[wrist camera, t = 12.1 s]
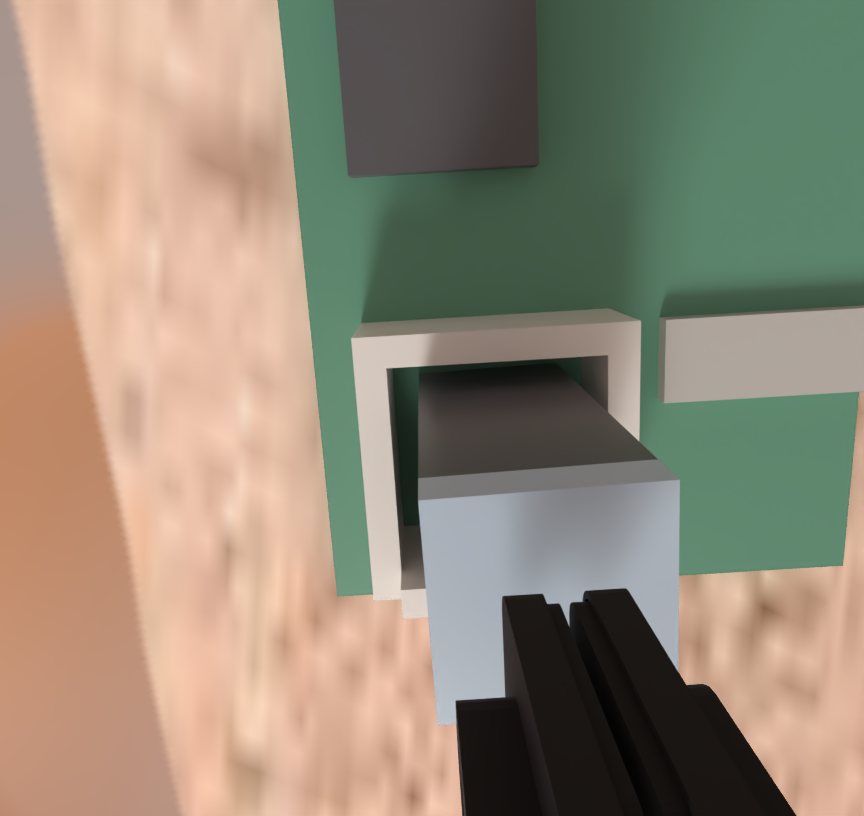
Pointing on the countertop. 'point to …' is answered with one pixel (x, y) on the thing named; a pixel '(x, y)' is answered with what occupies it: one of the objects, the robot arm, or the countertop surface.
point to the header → (462, 344)
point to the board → (601, 231)
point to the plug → (532, 515)
